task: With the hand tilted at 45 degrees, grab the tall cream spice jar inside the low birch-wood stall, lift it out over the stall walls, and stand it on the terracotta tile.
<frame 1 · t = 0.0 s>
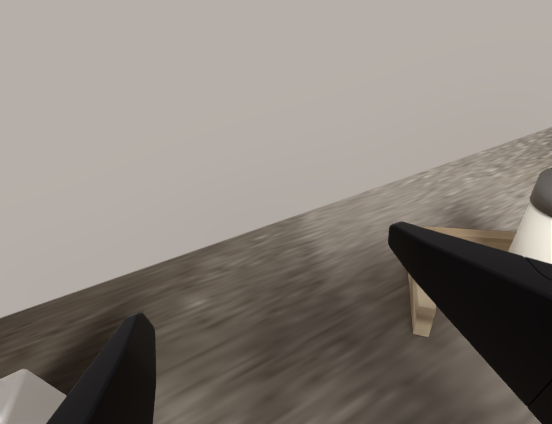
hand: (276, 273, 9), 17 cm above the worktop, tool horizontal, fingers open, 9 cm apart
birch stall: (521, 314, 22), on the worktop
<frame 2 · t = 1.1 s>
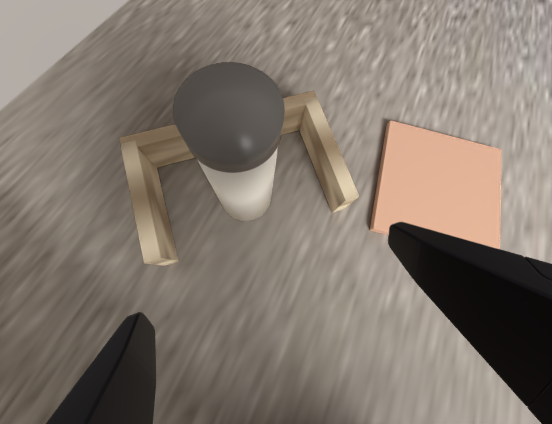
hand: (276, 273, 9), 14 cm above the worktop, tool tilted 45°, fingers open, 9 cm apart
cream spice jar: (240, 168, 17), in the birch stall
birch stall: (246, 196, 24), on the worktop
terracotta tile: (435, 189, 25), on the worktop
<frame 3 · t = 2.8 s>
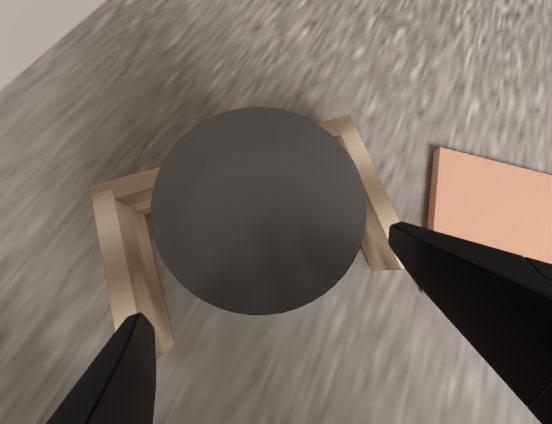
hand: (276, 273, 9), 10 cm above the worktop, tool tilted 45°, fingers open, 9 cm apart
cream spice jar: (261, 239, 12), in the birch stall
birch stall: (261, 251, 18), on the worktop
terracotta tile: (500, 235, 20), on the worktop
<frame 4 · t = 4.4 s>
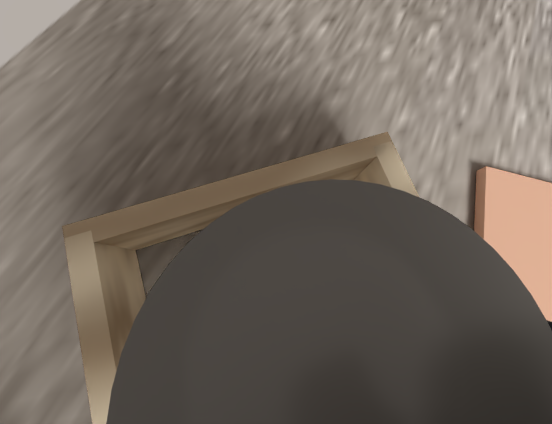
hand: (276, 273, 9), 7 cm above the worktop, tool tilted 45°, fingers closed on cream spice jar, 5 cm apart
cream spice jar: (287, 310, 9), in the birch stall, touching gripper
birch stall: (276, 295, 15), on the worktop
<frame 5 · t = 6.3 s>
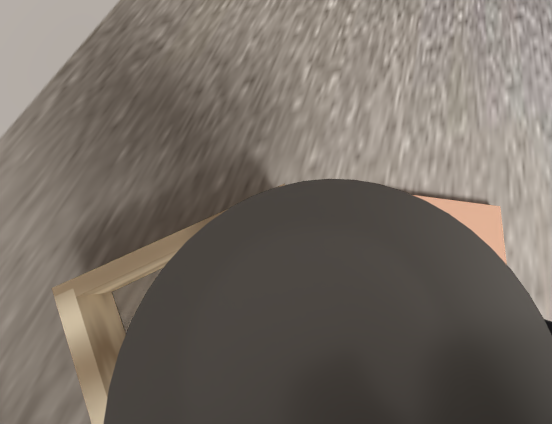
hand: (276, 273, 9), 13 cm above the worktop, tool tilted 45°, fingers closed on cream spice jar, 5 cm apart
cream spice jar: (287, 310, 9), point 12 cm above the worktop, touching gripper
birch stall: (222, 311, 20), on the worktop
terracotta tile: (435, 263, 22), on the worktop
when the fingers open (9 cm above the worktop, at t = 8.7 s): cream spice jar drops 2 cm, resting on terracotta tile.
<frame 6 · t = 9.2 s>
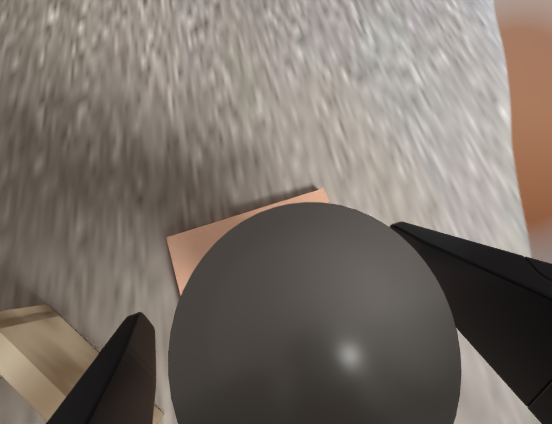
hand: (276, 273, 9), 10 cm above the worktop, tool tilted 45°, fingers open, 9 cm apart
cream spice jar: (283, 303, 10), on the terracotta tile, point 7 cm above the worktop
terracotta tile: (274, 291, 18), on the worktop
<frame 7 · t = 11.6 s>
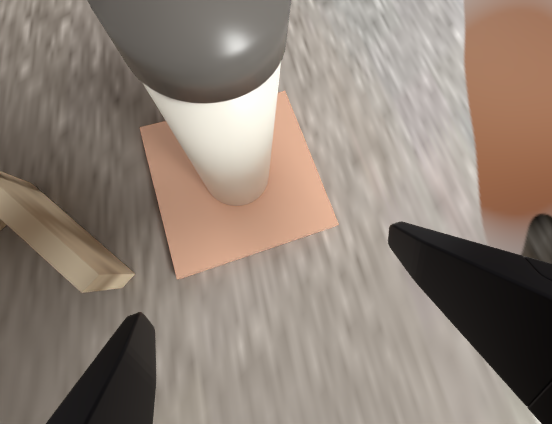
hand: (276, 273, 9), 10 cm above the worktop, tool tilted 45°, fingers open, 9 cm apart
cream spice jar: (225, 125, 12), on the terracotta tile, point 7 cm above the worktop
terracotta tile: (237, 178, 19), on the worktop
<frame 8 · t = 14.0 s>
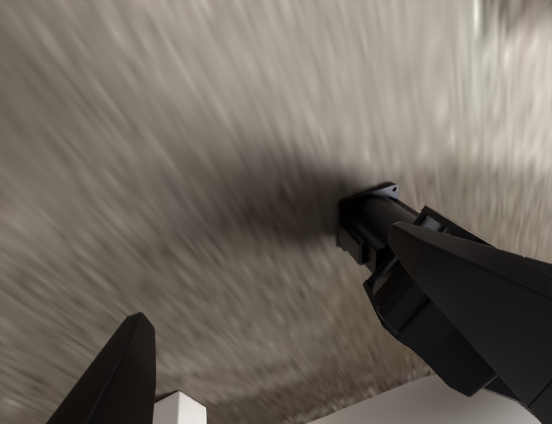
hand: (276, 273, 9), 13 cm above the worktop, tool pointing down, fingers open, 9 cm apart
medicine bottle: (170, 408, 34), on the worktop
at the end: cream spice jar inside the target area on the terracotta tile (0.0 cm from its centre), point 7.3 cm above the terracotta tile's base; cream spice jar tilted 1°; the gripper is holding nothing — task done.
